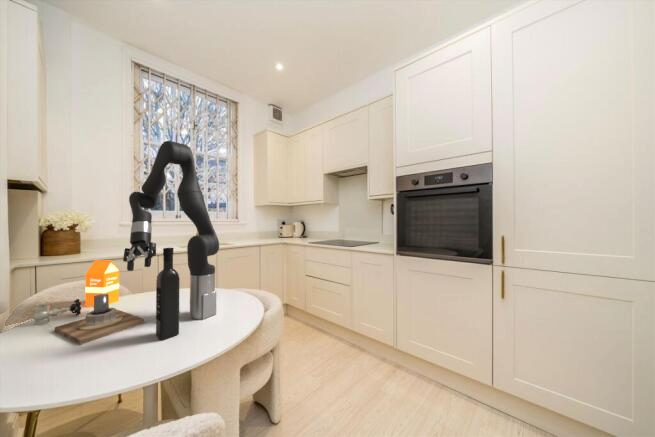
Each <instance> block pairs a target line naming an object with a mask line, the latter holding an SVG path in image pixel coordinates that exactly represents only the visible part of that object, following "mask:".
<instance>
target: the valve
mask: <svg viewBox="0 0 655 437" xmlns="http://www.w3.org/2000/svg"><path fill="white" fill-rule="evenodd" d="M81 304H82V303H81V301H80V299H79V298H78V299H75V300H73V304H70V306H69V307H61V309H59V308H57V307H53V308H51V307H50V306H51V304H41V305H38V306H35V307H34V309H33V310H34V311H33V312H34V313H33V317H32V318H33V320H34V321H33V326H37V327H38V326H39V327H40V326H42V325H47V324H49V323H50V319H51V318H50V317H57V316H58V315H59V314H60V313H61V314H64V313H67V312H68V311H69V312H71V313H72V314H75V316H80V315H82V313H81V312H82V311H81V310H82V307H81Z"/></svg>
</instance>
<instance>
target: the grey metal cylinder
mask: <svg viewBox="0 0 655 437" xmlns="http://www.w3.org/2000/svg"><path fill="white" fill-rule="evenodd" d="M109 305H110V304H109V294H107V293H106V294H99V295H95V296H94V306H93V311H94V315H99V314H104V313H108V312H109V308H110V306H109Z"/></svg>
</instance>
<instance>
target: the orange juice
mask: <svg viewBox="0 0 655 437" xmlns="http://www.w3.org/2000/svg"><path fill="white" fill-rule="evenodd" d="M84 288H85V289H84V290H85V291H84V292H85V305H91V306H90V307H94V296H95V295H99V294H106V293H107V294H109V305H111V304H114V303H117V302H119V301H120V270H119V268H118V267H117V266H116V265H115V263H114V262H113V261H112V260H101V259H100V260H98V259H95V260H94V261H93V262H92V264H91V265H90V267H89V269H88V270H87V271H86V273H85V287H84Z"/></svg>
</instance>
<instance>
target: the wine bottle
mask: <svg viewBox="0 0 655 437" xmlns="http://www.w3.org/2000/svg"><path fill="white" fill-rule="evenodd" d="M174 249H175V248H174V247H164V248H162V256H163V258H162V259H163V263H162V264H163V269H162V270H161V271H159V272H158V274H157V276H156V280H155V281H156V284H155V286H156V287H155V288H156V290H155V291H156V294H155V302H156V303H155V337H156V338H158V339H159V340H161V341H164V340H167V339H170V338H172V337H173V338H174V337H176V336H177V335H179V334H180V280H181V279H180V275H179V273H178V271H177V270H176V269H174V254H175V253H174Z"/></svg>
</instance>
